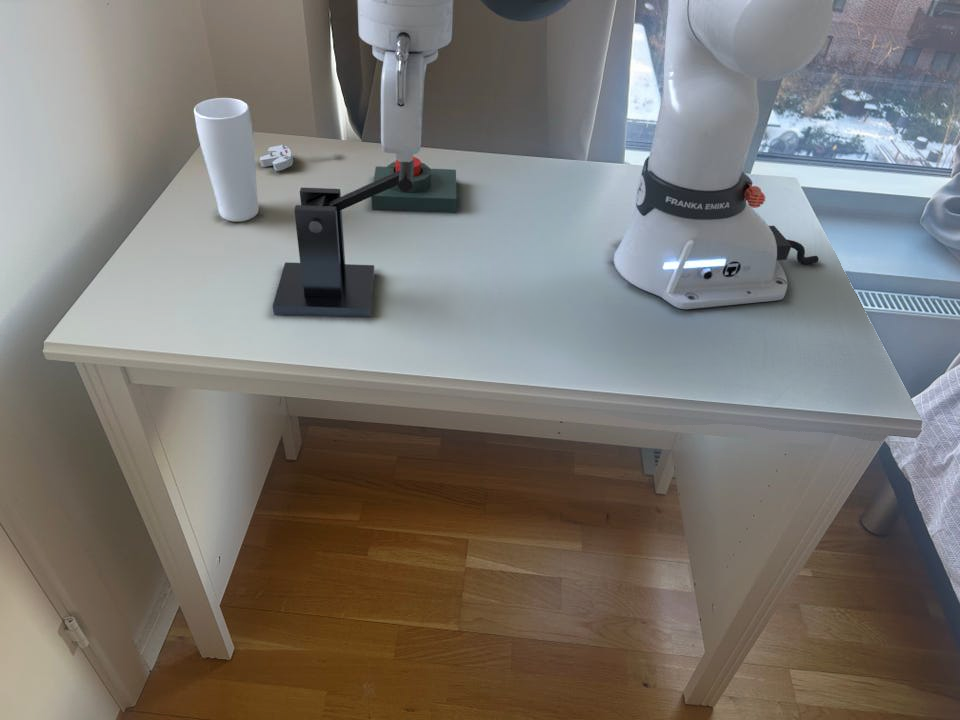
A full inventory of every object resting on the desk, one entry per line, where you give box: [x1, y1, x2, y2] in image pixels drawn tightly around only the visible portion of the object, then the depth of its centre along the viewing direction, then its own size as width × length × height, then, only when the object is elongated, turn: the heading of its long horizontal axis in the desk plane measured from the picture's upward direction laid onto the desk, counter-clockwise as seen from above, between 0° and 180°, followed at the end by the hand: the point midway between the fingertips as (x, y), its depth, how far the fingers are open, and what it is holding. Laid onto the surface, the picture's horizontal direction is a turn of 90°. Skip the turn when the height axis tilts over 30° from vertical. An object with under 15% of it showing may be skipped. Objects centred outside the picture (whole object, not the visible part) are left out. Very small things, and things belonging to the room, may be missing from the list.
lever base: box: [272, 186, 375, 318], centre depth 86 cm, size 11×9×13 cm
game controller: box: [259, 143, 338, 172], centre depth 115 cm, size 6×12×3 cm, turn 129°
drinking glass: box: [193, 97, 260, 223], centre depth 98 cm, size 7×7×15 cm
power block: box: [370, 161, 458, 213], centre depth 108 cm, size 12×9×4 cm
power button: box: [395, 156, 422, 177], centre depth 106 cm, size 4×4×2 cm
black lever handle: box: [305, 160, 414, 212], centre depth 81 cm, size 13×5×2 cm, turn 92°
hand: (404, 155), depth 79 cm, fingers closed
